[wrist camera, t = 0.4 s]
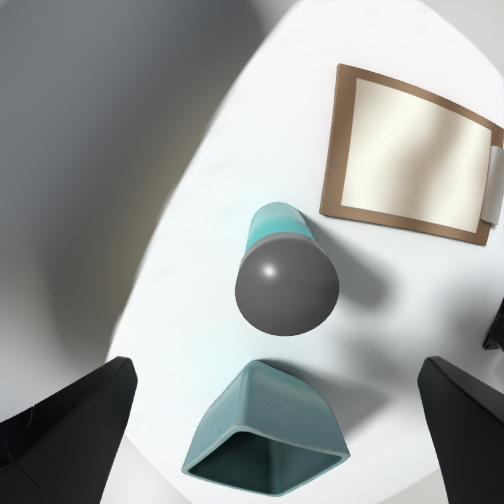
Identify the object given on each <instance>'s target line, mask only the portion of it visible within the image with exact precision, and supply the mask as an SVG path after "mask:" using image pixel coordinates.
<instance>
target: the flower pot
mask: <svg viewBox="0 0 504 504" xmlns="http://www.w3.org/2000/svg"><path fill="white" fill-rule="evenodd" d="M350 456H351V455H350V453H349V450H348V448H347V445H346V443H345V440H344V438H343V435H342V433H341V430H340V428H339V426H338V423H337V421H336V419H335V416H334V414H333V412H332V410H331V408H330V407H329V405H328V404H327V402H326V401H325V400H324V399H323V397H322V396H321V395H320V394H319V393H318V392H317V391H315V390H314V389H313V388H312V387H310V386H309V385H308V384H306V383H305V382H304V381H302V380H301V379H299V378H296V377H294V376H291V375H289V374H287V373H284V372H282V371H280V370H277V369H275V368H273V367H271V366H269V365H267V364H264V363H262V362H260V361H257V360H253V361H251V362H250V363H248V364H247V365H246V366H245V367H244V369H243V370H242V371H241V372H240V373H239V375H238V376H237V377H236V378H235V379H234V380H233V381H232V383H231V384H230V385H229V386H228V387H227V388H226V389H225V391H224V392H223V393H222V394H221V395H220V396H219V397H218V398H217V399H216V400H215V402H214V403H213V404H212V405H211V406H210V408H209V409H208V410H207V412H206V413H205V415H204V416H203V418H202V419H201V421H200V423H199V425H198V427H197V429H196V432H195V435H194V437H193V440H192V442H191V445H190V448H189V450H188V453H187V456H186V458H185V461H184V464H183V467H182V469H181V471H182V473H184V474H187V475H189V476H192V477H195V478H198V479H200V480H204V481H207V482H211V483H215V484H219V485H222V486H226V487H230V488H233V489H238V490H242V491H247V492H251V493H256V494H261V495H266V496H272V497H280V496H283V495H285V494H287V493H289V492H291V491H293V490H295V489H297V488H299V487H301V486H303V485H305V484H307V483H308V482H310V481H312V480H314V479H315V478H317V477H319V476H321V475H322V474H324V473H326V472H328V471H329V470H331V469H333V468H334V467H336V466H338V465H340V464H341V463H343V462H344V461H346V460H347V459H348V458H349V457H350Z"/></svg>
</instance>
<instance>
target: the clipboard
mask: <svg viewBox="0 0 504 504" xmlns="http://www.w3.org/2000/svg"><path fill="white" fill-rule="evenodd" d="M503 140H504V129H503V128H501V127H500V126H498V125H496V124H494V123H493V122H491V121H489V120H487V119H486V118H484V117H482V116H480V115H478V114H476V113H474V112H473V111H471V110H469V109H467V108H465V107H463V106H461V105H458V104H456V103H454V102H452V101H450V100H448V99H445V98H443V97H441V96H439V95H436V94H434V93H431V92H429V91H427V90H424V89H422V88H419V87H416V86H414V85H411V84H408V83H405V82H403V81H400V80H397V79H394V78H391V77H388V76H384V75H381V74H378V73H375V72H371V71H368V70H364V69H360V68H357V67H353V66H349V65H344V64H340V63H339V64H338V66H337V76H336V87H335V97H334V107H333V116H332V125H331V133H330V141H329V149H328V157H327V164H326V171H325V178H324V184H323V191H322V197H321V204H320V210H319V213H320V214H321V215H328V216H334V217H341V218H347V219H353V220H359V221H365V222H371V223H377V224H383V225H388V226H394V227H399V228H405V229H410V230H415V231H420V232H425V233H430V234H435V235H440V236H445V237H450V238H455V239H459V240H464V241H468V242H473V243H477V244H481V245H486V243H487V239H488V235H489V231H490V227H491V223H493V224H496V225H497V224H498V220H499V215H500V211H501V206H502V200H503V194H504V150H503Z"/></svg>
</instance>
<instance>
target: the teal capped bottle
mask: <svg viewBox="0 0 504 504" xmlns="http://www.w3.org/2000/svg"><path fill="white" fill-rule="evenodd" d="M338 294H339V281H338V277H337V273H336V271H335V269H334V267H333V265H332V263H331V262H330V260H329V258H328V256H327V255H326V253H325V251H324V250H323V249H322V247H321V246H320V245H319V244H318V243H317V242H316V240H315V238H314V236H313V235H312V233H311V231H310V229H309V228H308V226H307V224H306V222H305V221H304V219H303V217H302V216H301V214H300V213H299V211H298V210H297V209H295V208H294V207H293V206H291V205H289V204H286V203H280V202H276V203H270V204H267V205H265V206H263V207H262V208H260V209H259V210H258V211H257V212H256V213H255V215H254V217H253V219H252V221H251V225H250V230H249V235H248V240H247V245H246V250H245V254H244V256H243V258H242V261H241V264H240V267H239V272H238V276H237V281H236V286H235V297H236V302H237V305H238V308H239V310H240V312H241V314H242V315H243V317H244V318H245V319H246V320H247V321H248V322H249V323H250V324H251V325H252V326H254V327H255V328H257V329H259V330H260V331H262V332H265V333H268V334H271V335H276V336H294V335H299V334H303V333H306V332H308V331H310V330H312V329H314V328H316V327H317V326H319V325H320V324H321V323H322V322H323V321H325V320H326V319H327V317H328V316H329V315H330V314H331V312H332V311H333V309H334V307H335V305H336V302H337V299H338Z"/></svg>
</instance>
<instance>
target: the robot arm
mask: <svg viewBox="0 0 504 504" xmlns="http://www.w3.org/2000/svg"><path fill="white" fill-rule="evenodd" d="M483 348H484V349H485V350H490V349H498V348H500V349H501V350H502V351H503V352H504V299H503V302H502V304H501V307H500V309H499V312H498V314H497V316H496V319H495V321H494V323H493V325H492V327H491V330H490V332H489V334H488V336H487V338H486V340H485V342H484V344H483ZM417 382H418V387H419V391H420V395H421V400H422V404H423V408H424V413H425V417H426V421H427V425H428V428H429V431H430V434H431V438H432V441H433V444H434V447H435V451H436V454H437V458H438V461H439V465H440V468H441V473H442V476H443V480H444V484H445V488H446V493H447V497H448V502H449V504H504V394H502V393H500V392H499V391H497V390H495V389H494V388H492V387H490V386H488V385H487V384H485V383H483V382H482V381H480V380H478V379H477V378H475V377H473V376H471V375H470V374H468V373H466V372H465V371H463V370H461V369H459V368H458V367H456V366H454V365H453V364H451V363H449V362H447V361H446V360H444V359H442V358H441V357H439V356H432V357H428V358H426V359H425V361H424V363H423V365H422V368H421V370H420V373H419V375H418V379H417ZM137 383H138V379H137V375H136V372H135V368H134V365H133V362H132V360H131V359H130V358H128V357H121V356H118V357H116V358H114V359H113V360H111V361H109V362H107V363H106V364H104V365H102V366H101V367H99V368H97V369H96V370H94V371H92V372H91V373H89V374H87V375H86V376H84V377H82V378H81V379H79V380H77V381H75V382H74V383H72V384H70V385H69V386H67V387H65V388H63V389H62V390H60V391H58V392H56V393H55V394H53V395H51V396H49V397H48V398H46V399H44V400H42V401H41V402H39V403H37V404H35V405H34V407H33V406H32V407H30V408H28V409H27V410H25V411H23V412H21V413H19V414H17V415H16V416H13V417H12V418H9V419H7V420H5V421H3V422H1V423H0V504H100V501H101V498H102V494H103V491H104V488H105V485H106V482H107V479H108V476H109V473H110V471H111V468H112V465H113V462H114V459H115V456H116V453H117V451H118V448H119V445H120V442H121V439H122V437H123V434H124V431H125V429H126V426H127V423H128V419H129V415H130V411H131V407H132V403H133V399H134V395H135V391H136V388H137Z"/></svg>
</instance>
